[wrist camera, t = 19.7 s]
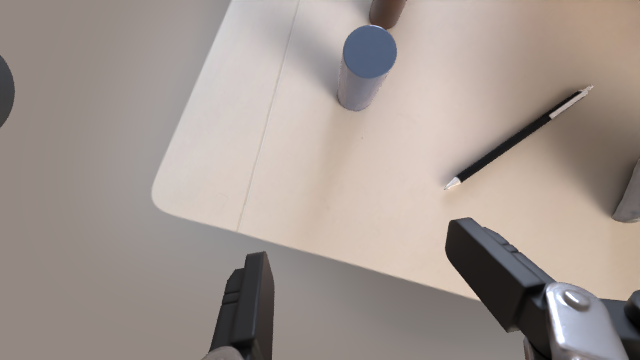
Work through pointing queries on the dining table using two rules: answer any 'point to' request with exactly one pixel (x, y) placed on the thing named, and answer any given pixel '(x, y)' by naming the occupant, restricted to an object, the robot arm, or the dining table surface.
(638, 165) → the incense holder
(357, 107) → the cylinder
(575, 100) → the pen
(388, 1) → the pegs
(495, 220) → the dining table surface
